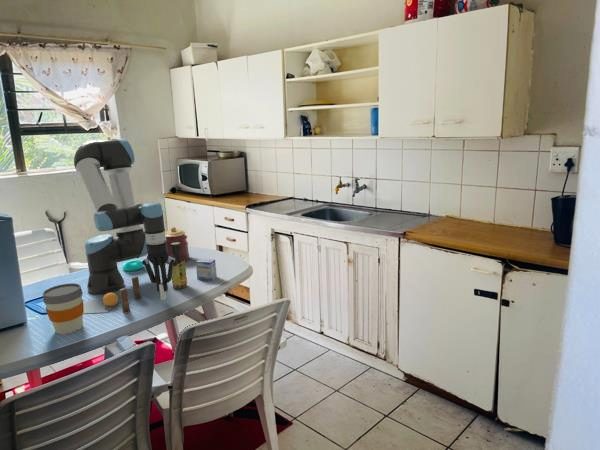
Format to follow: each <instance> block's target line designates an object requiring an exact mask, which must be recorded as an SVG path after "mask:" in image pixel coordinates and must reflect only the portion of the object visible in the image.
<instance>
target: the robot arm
mask: <svg viewBox="0 0 600 450" xmlns="http://www.w3.org/2000/svg"><path fill="white" fill-rule="evenodd" d="M134 163H135V153H134V150H133V148H132V145H131V144H130V142H129V141H128V140H127V139H126V138H125V139H124V138H111V139H102V140H101V139H100V140H89V141H86V142H84V143H83V144H81V145H80V146H79V147H78V148H77V150H76V151H75V154H74V157H73V165H74V169H75V172H76V173H77V174H79V176H80V175H81V179H82V181H83V183H84V185H85V187H86V189H87V193H88V194H89V195H88V196H89V197H90V199H91V202H92V204H93V206H94V209H95V211H96V212H94V214H93V221H94V225H95V228H96V230H97V231H99V232H107V231H108V232H109V231H112V230H116V231H115V236H113V234H110V233H106V234H99V235H96V236H93V237H91V238H89V239H87V240H86V241H85V243H84V251H85V252H84V253H85V256H86V261H87V267H88V272H89V273H88V281H87V287H86V288H87V292H88V293H89V294H93V295H105V294H107V293H114V292H116V291H117V290H120V289H123V287H124V286H125V280H124V278H123V276H122V274H121V272H120V270H119V267H118V263H122V262H125V261H126V262H127V261H131V260H136V259H140V258H143V257H145V256H146V258H144V259H143V260H141V261H142V264H143V267H144V268H145V270H146V272H147V276H148V278H149V281H150V282H151V283H152V284H155V285H156V291H157V292H159V294H160V300H161V301H165V300H166V299H167V292H168V290H169V285H168V283H170V282H172V271H173V264H174V261H175V260H176V259H175V258H172V257H170V256H169V254H168V250H167V242H166V235H165V232H166V229H165V220H164V210H163V207H162V203H160V202H158V201H157V202H156V201H152V202H145V203H138V204H135V198H134V193H133V188H132V182H131V177H130V171H131V170H132V168H133V167H132V165H133V164H134ZM101 168H103V171H104V173H106V174H107V175H108V178H109V184H110V189H111V191H110V189H109V186H108V185H107V182H106V180H105V177H104V176H103V174H102V171H101ZM141 225H143V226H141ZM167 260H169V261H168V262H169V263H168V267H167V268H168V270H166V261H167ZM151 264H152V265H153V266H152V265H151ZM152 267H153V268H152Z"/></svg>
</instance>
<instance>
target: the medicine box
mask: <svg viewBox="0 0 600 450" xmlns="http://www.w3.org/2000/svg"><path fill="white" fill-rule="evenodd" d="M216 265H217V264H216V259H203V258H202V259H201V258H200V259H198V260H196V261H195V268H196V278H197V280H198V281H214V280H215V279H216V278H217V277H218V275H217V267H216Z"/></svg>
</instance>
